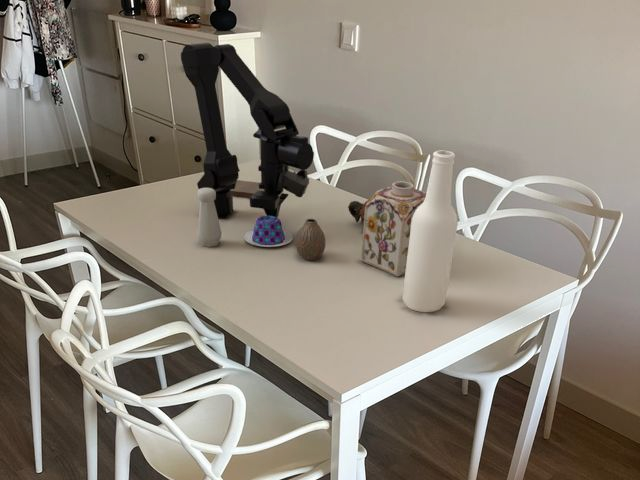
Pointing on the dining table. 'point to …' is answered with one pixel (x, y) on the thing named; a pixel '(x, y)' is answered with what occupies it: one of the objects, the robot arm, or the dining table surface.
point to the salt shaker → (208, 218)
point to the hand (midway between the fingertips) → (273, 225)
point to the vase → (310, 240)
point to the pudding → (268, 233)
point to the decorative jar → (390, 226)
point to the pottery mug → (357, 210)
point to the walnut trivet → (245, 189)
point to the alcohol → (432, 240)
